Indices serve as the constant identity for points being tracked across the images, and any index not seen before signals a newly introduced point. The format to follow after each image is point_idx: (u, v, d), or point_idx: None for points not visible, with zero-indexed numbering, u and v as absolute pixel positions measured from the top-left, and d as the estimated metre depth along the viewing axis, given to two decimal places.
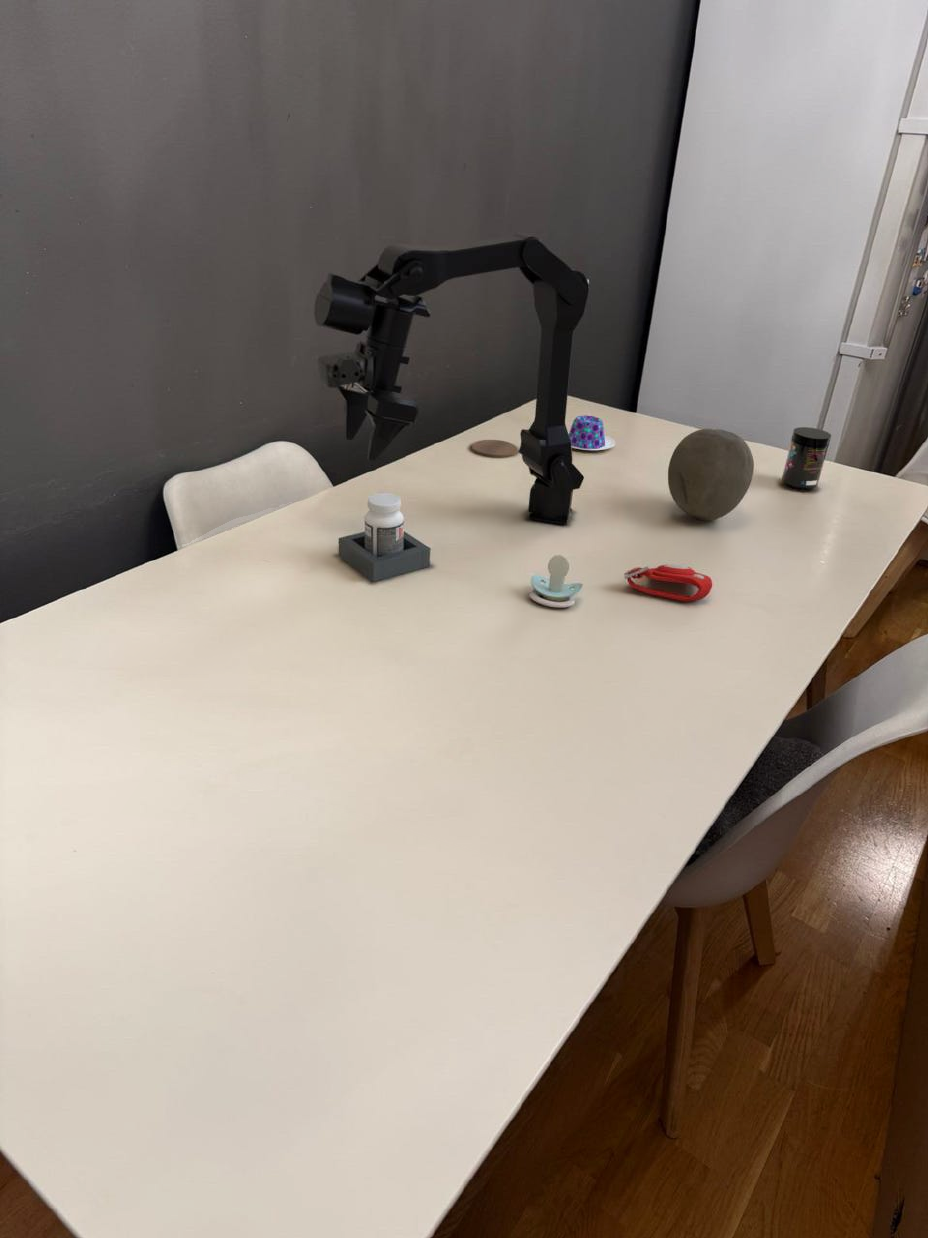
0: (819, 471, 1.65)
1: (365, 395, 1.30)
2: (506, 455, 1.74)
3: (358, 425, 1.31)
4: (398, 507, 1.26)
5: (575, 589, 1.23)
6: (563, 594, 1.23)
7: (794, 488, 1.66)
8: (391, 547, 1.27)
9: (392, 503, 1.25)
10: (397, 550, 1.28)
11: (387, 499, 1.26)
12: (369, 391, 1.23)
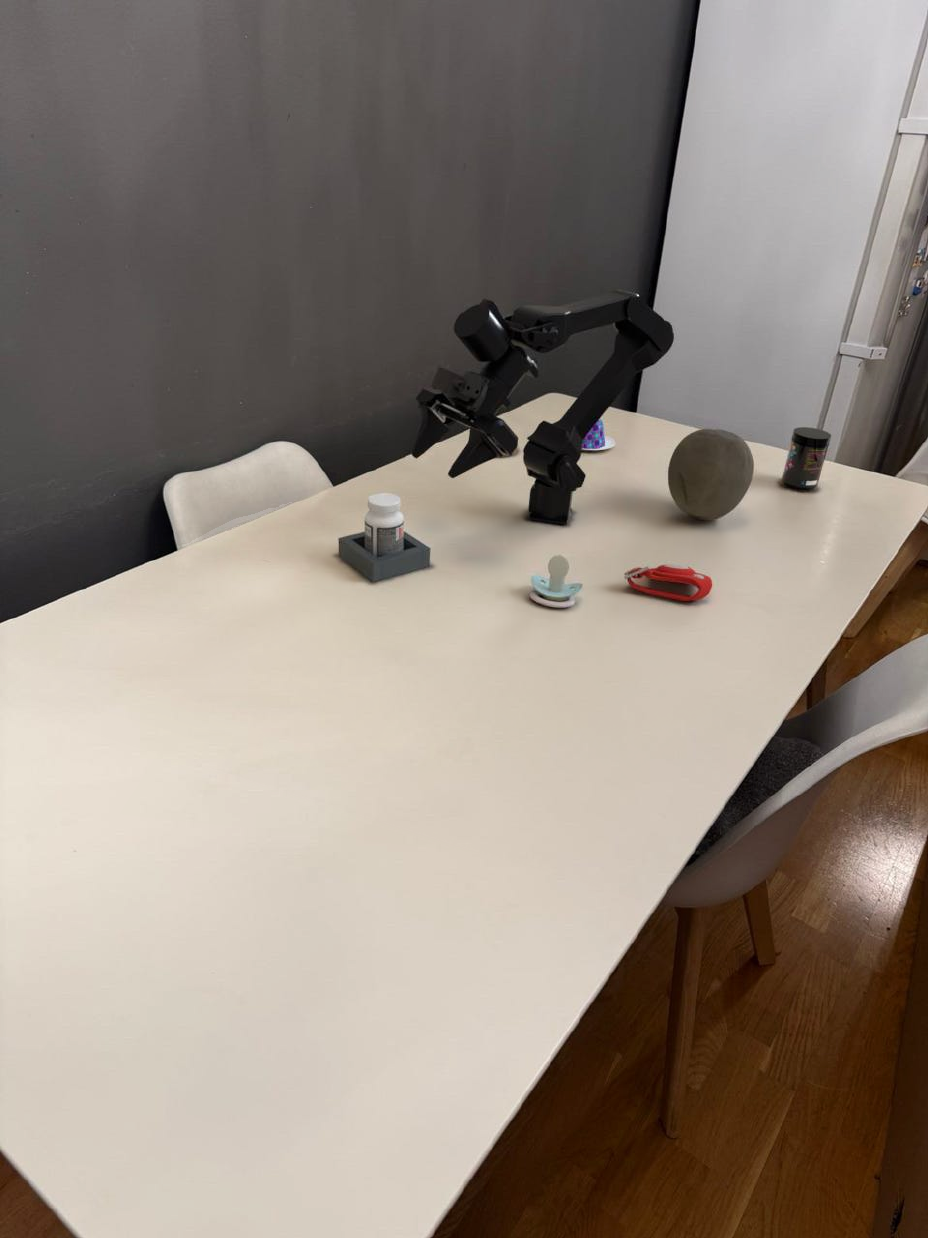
0: (819, 471, 1.65)
1: (442, 424, 1.33)
2: (506, 455, 1.74)
3: (426, 448, 1.33)
4: (398, 507, 1.26)
5: (575, 589, 1.23)
6: (563, 594, 1.23)
7: (794, 488, 1.66)
8: (391, 547, 1.27)
9: (392, 503, 1.25)
10: (397, 550, 1.28)
11: (387, 499, 1.26)
12: (466, 416, 1.28)
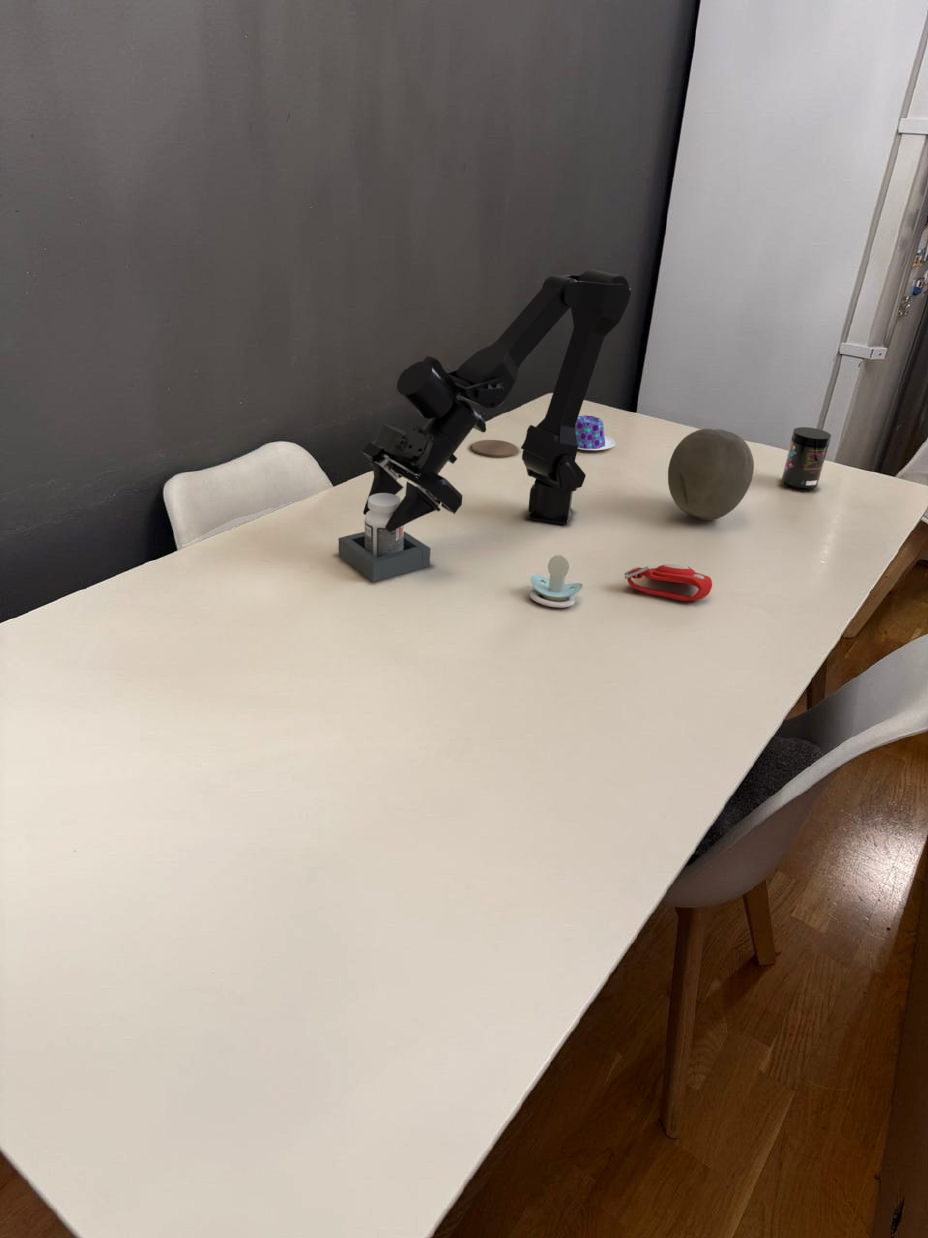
0: (819, 471, 1.65)
1: (395, 481, 1.31)
2: (506, 455, 1.74)
3: None
4: None
5: (575, 589, 1.23)
6: (563, 594, 1.23)
7: (794, 488, 1.66)
8: (391, 547, 1.27)
9: (392, 503, 1.25)
10: (397, 550, 1.28)
11: (387, 499, 1.26)
12: (418, 476, 1.25)
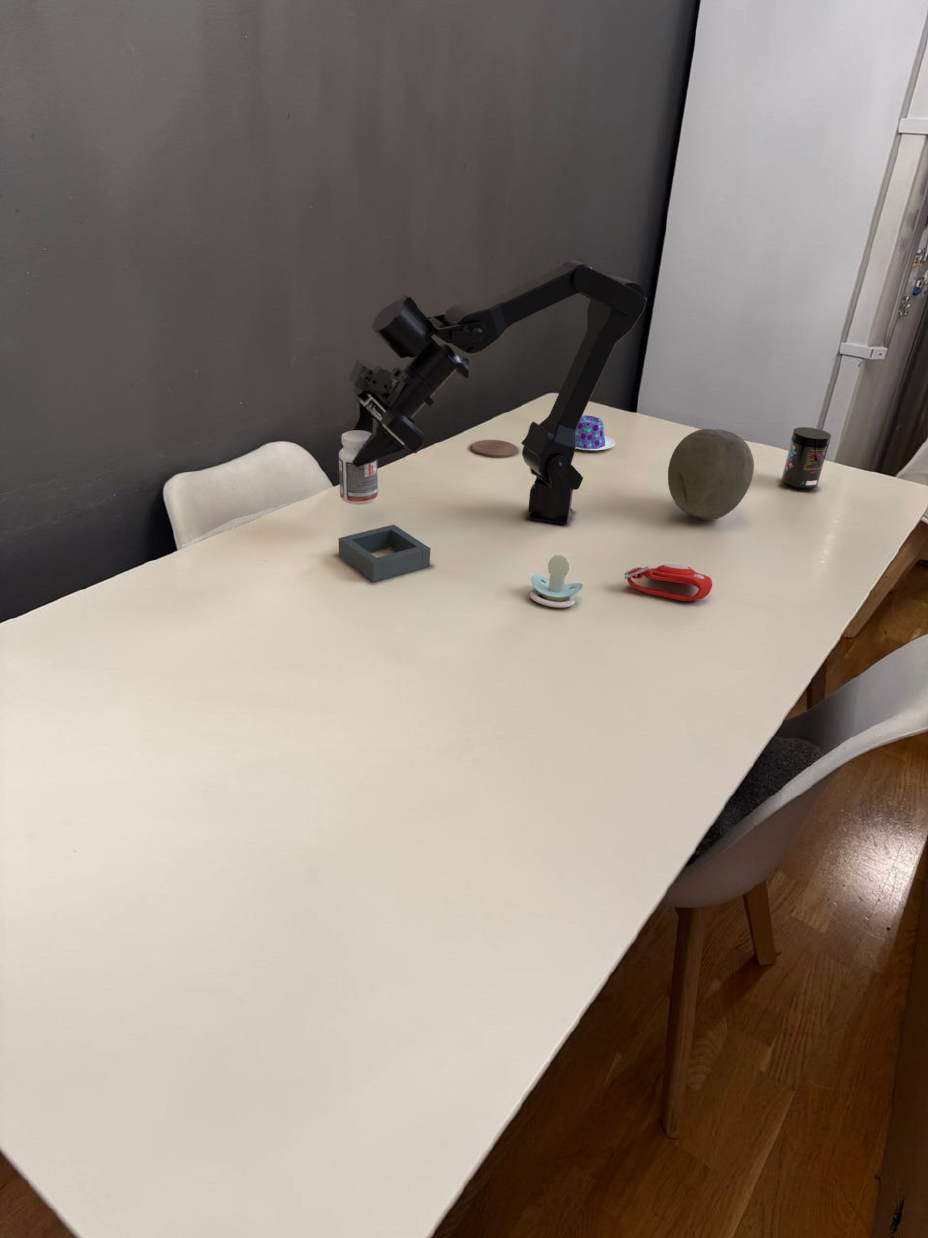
0: (819, 471, 1.65)
1: (378, 421, 1.33)
2: (506, 455, 1.74)
3: None
4: None
5: (575, 589, 1.23)
6: (563, 594, 1.23)
7: (794, 488, 1.66)
8: (359, 483, 1.30)
9: (361, 439, 1.28)
10: (367, 487, 1.31)
11: (360, 435, 1.29)
12: None
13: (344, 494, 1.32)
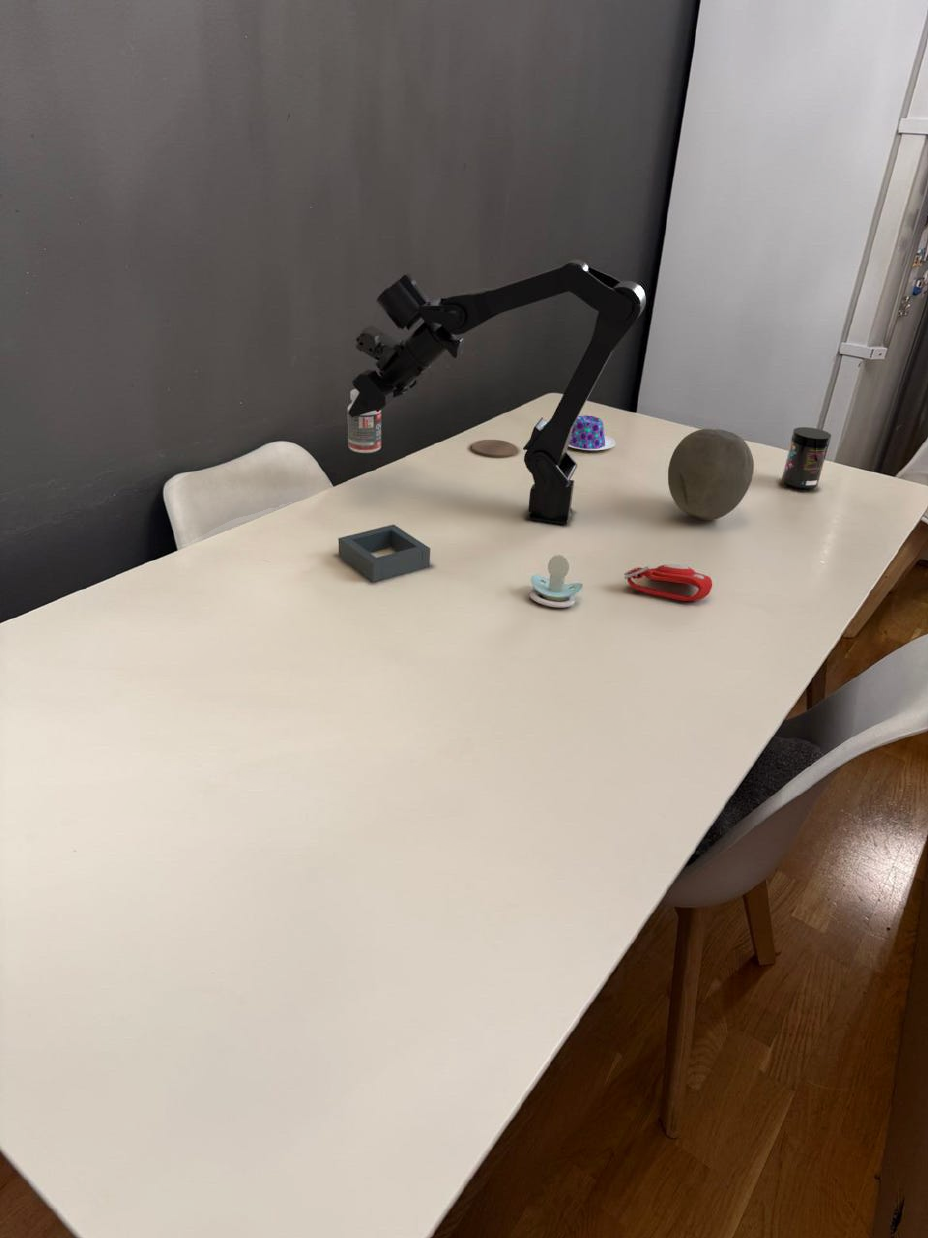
0: (819, 471, 1.65)
1: None
2: (506, 455, 1.74)
3: None
4: None
5: (575, 589, 1.23)
6: (563, 594, 1.23)
7: (794, 488, 1.66)
8: (355, 432, 1.50)
9: None
10: (360, 437, 1.50)
11: None
12: (380, 376, 1.44)
13: (348, 440, 1.53)
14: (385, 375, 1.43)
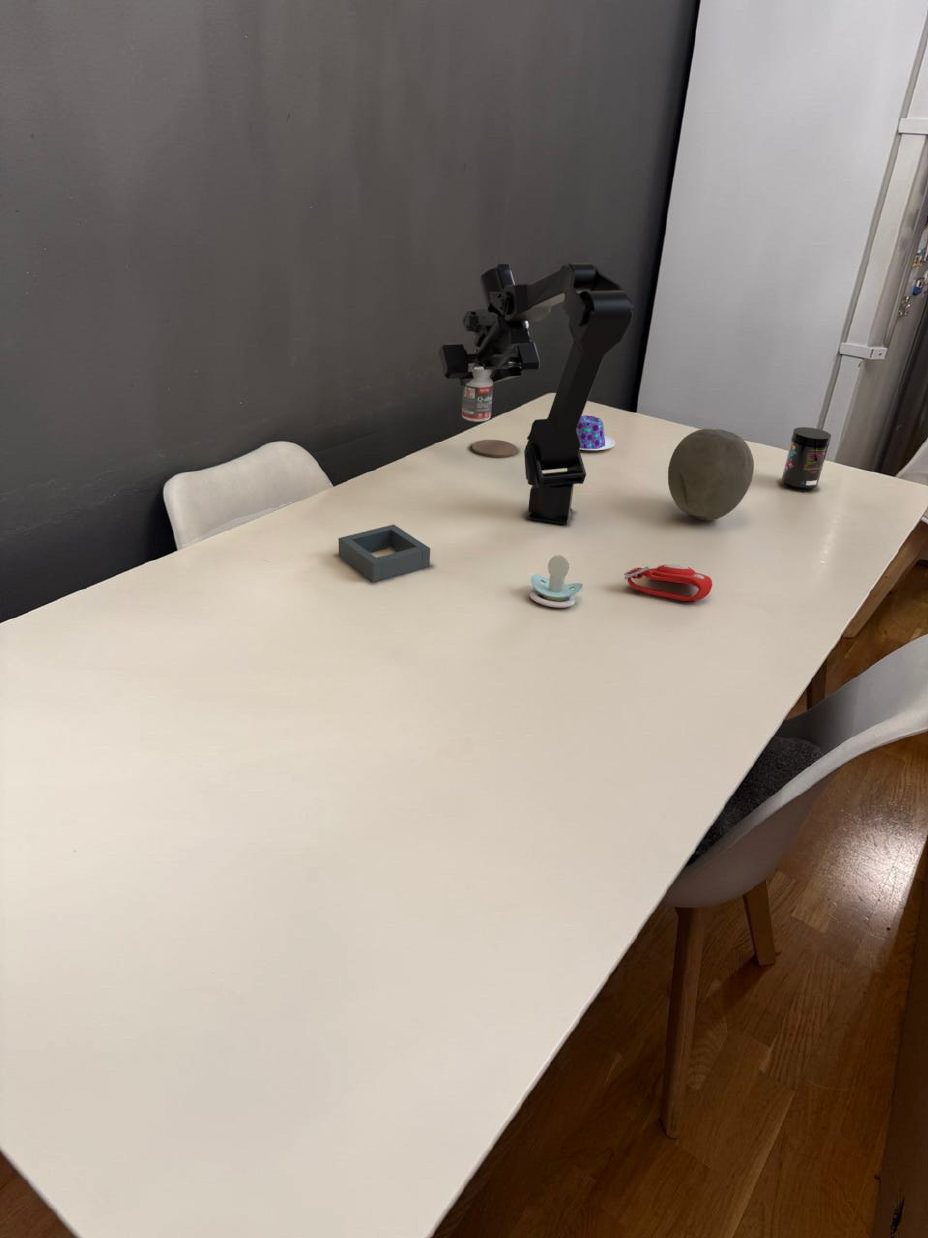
0: (819, 471, 1.65)
1: None
2: (506, 455, 1.74)
3: (494, 379, 1.69)
4: None
5: (575, 589, 1.23)
6: (563, 594, 1.23)
7: (794, 488, 1.66)
8: None
9: None
10: (464, 405, 1.70)
11: None
12: (476, 352, 1.62)
13: None
14: (477, 352, 1.61)
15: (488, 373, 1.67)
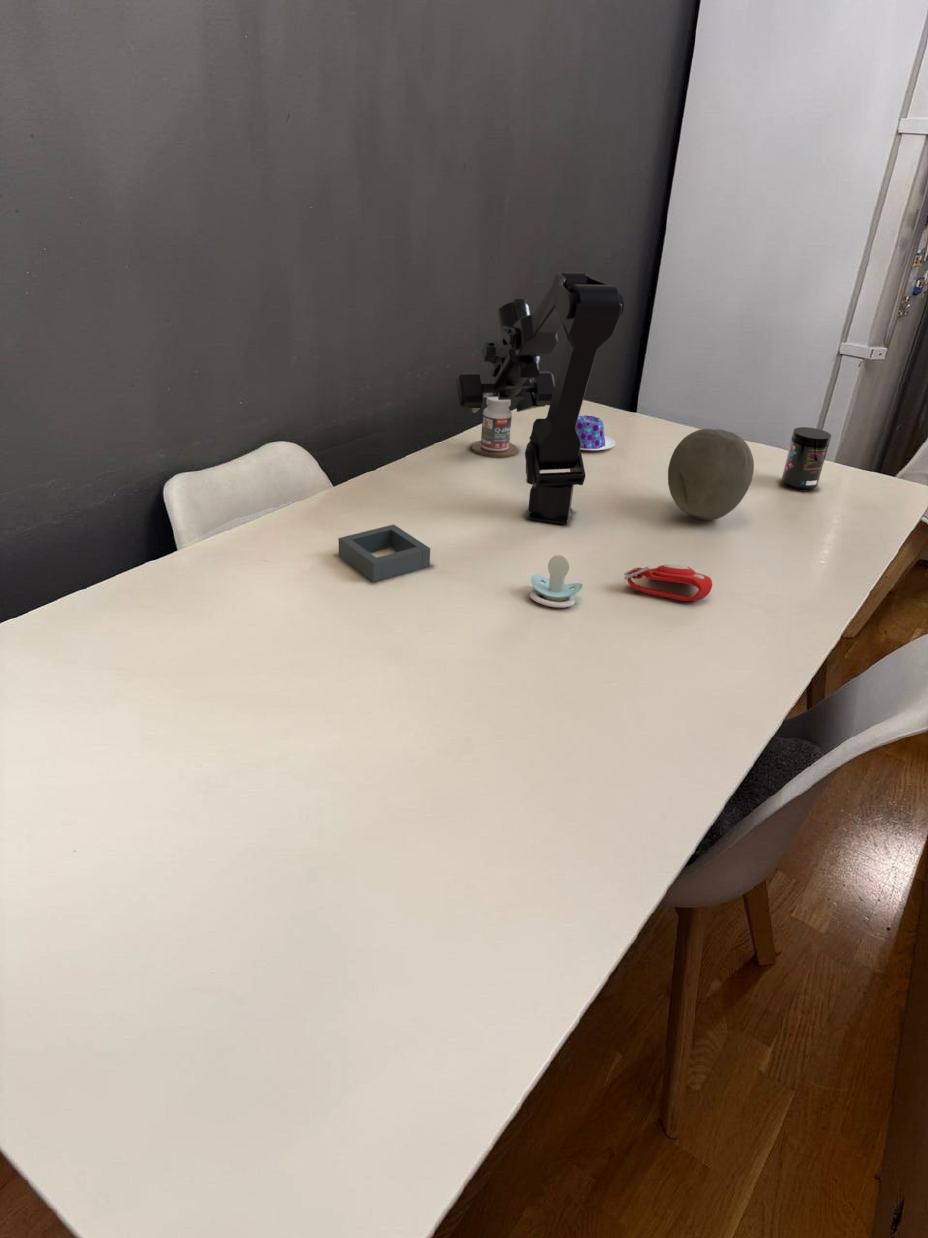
0: (819, 471, 1.65)
1: (530, 397, 1.69)
2: (506, 455, 1.74)
3: (521, 408, 1.73)
4: (490, 404, 1.71)
5: (575, 589, 1.23)
6: (563, 594, 1.23)
7: (794, 488, 1.66)
8: None
9: (489, 398, 1.71)
10: (483, 435, 1.74)
11: (497, 398, 1.71)
12: None
13: None
14: None
15: (506, 405, 1.71)
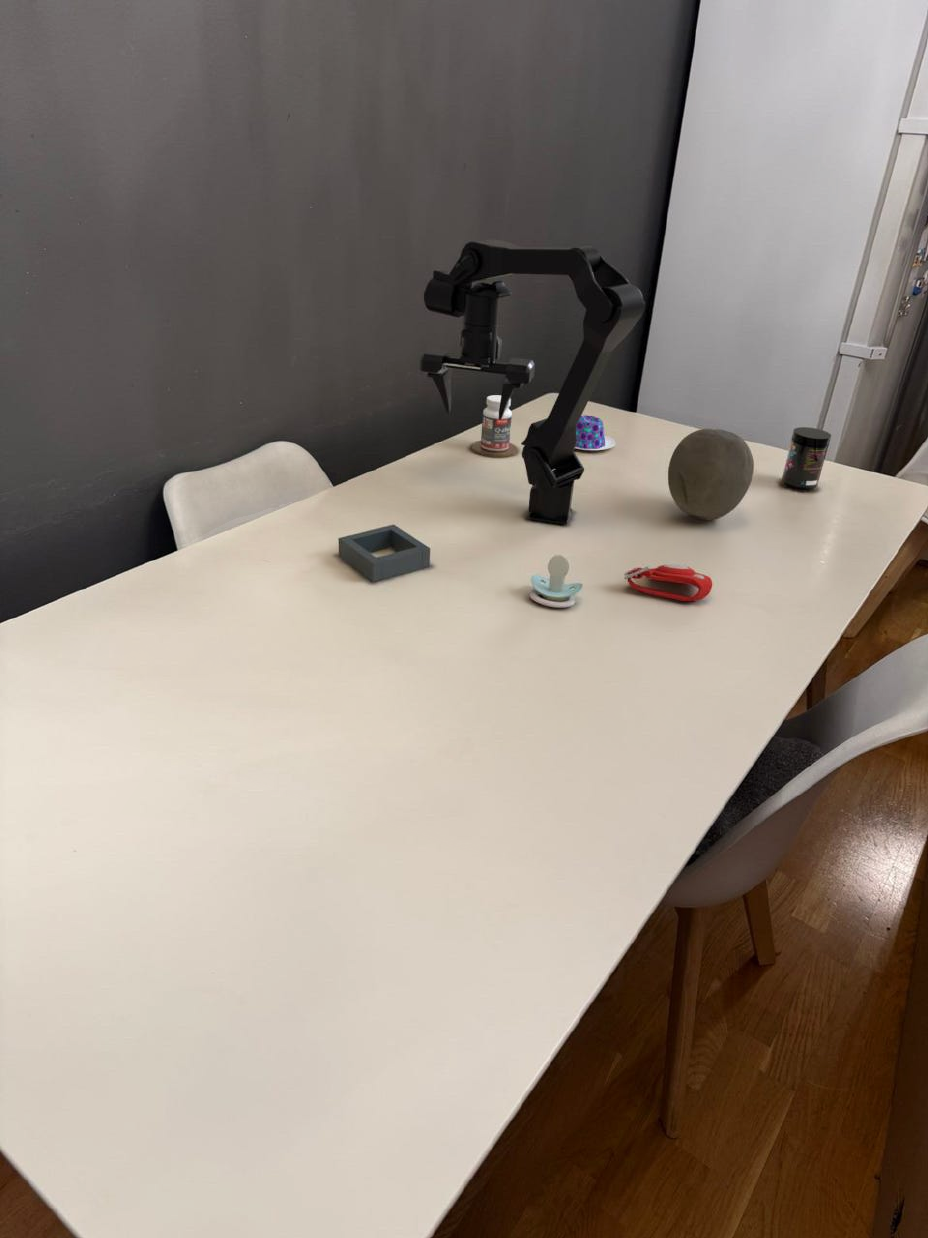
0: (819, 471, 1.65)
1: (505, 381, 1.47)
2: (506, 455, 1.74)
3: (499, 407, 1.50)
4: (490, 404, 1.71)
5: (575, 589, 1.23)
6: (563, 594, 1.23)
7: (794, 488, 1.66)
8: None
9: (489, 398, 1.71)
10: (483, 435, 1.74)
11: (497, 398, 1.71)
12: None
13: None
14: None
15: None
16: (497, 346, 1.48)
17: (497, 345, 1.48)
